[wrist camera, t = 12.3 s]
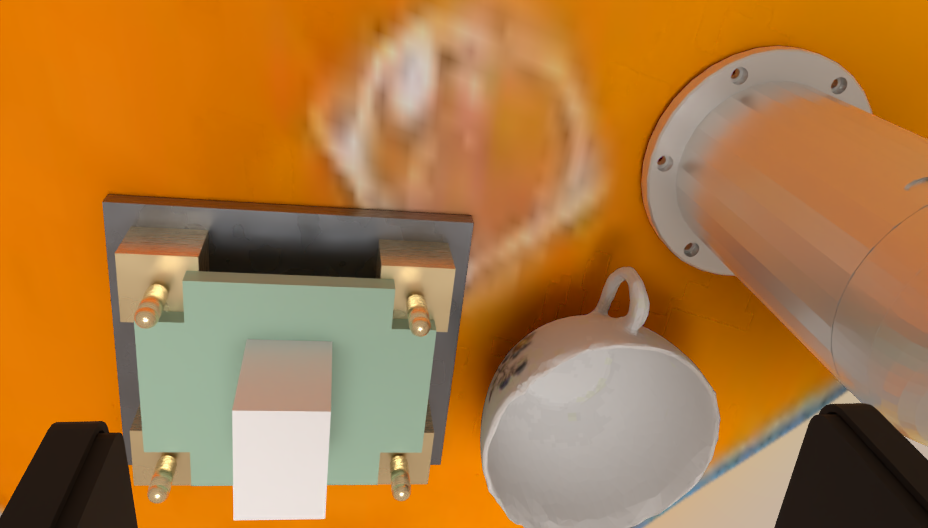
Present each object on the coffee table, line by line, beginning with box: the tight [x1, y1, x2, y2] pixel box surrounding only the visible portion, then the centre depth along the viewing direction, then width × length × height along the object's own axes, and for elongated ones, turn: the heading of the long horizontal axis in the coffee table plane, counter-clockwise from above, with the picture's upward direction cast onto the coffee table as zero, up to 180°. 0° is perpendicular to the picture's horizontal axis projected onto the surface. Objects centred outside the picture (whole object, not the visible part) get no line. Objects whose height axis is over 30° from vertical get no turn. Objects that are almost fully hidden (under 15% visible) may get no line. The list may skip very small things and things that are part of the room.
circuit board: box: [134, 271, 436, 520], centre depth 36 cm, size 14×12×6 cm
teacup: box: [480, 267, 720, 528], centre depth 42 cm, size 15×12×8 cm
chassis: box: [103, 194, 474, 503], centre depth 39 cm, size 18×16×7 cm
